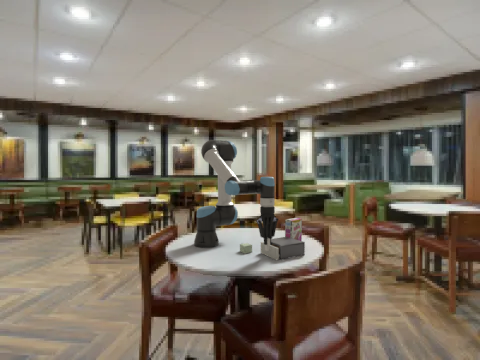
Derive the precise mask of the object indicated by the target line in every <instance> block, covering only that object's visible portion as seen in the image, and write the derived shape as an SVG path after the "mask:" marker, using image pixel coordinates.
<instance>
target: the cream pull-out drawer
mask: <svg viewBox="0 0 480 360" xmlns="http://www.w3.org/2000/svg"><path fill="white" fill-rule="evenodd" d="M260 254H262V255H265V256H267V257H269V258H271V259H273V260H276V261H278V260H280V259H279V257H280V254H279V248H277V247H274V246H272V245H270V251H266V250H265V244H264V241H261V242H260Z"/></svg>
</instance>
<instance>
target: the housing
mask: <svg viewBox="0 0 480 360" xmlns="http://www.w3.org/2000/svg"><path fill="white" fill-rule="evenodd" d="M272 244H275V245H277V246H280V257H279V260H282V261H283V260H286V259H291V258H296V257H297V258H298V257H301V256H305V252H306V251H305V249H306V248H305V247H306V244H305V241H299V240H296V239H293V238H290V237H285V236H281V237H275V238H272V239H271V244H270V245H272Z"/></svg>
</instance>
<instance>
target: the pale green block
mask: <svg viewBox="0 0 480 360" xmlns="http://www.w3.org/2000/svg"><path fill="white" fill-rule="evenodd" d="M239 252H241V253H243V254H248V253H253V244H250V243H248V242H246V243H240V244H239Z"/></svg>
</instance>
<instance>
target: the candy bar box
mask: <svg viewBox="0 0 480 360" xmlns="http://www.w3.org/2000/svg"><path fill="white" fill-rule="evenodd" d="M284 221H285V222H284V225H285V226H284V237H290V238H293V239H296V240H299V241H302V239H303V238H302V234H303V233H302V231H303V225H302V224H303V218H299V217H294V218H287V219H284Z"/></svg>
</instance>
